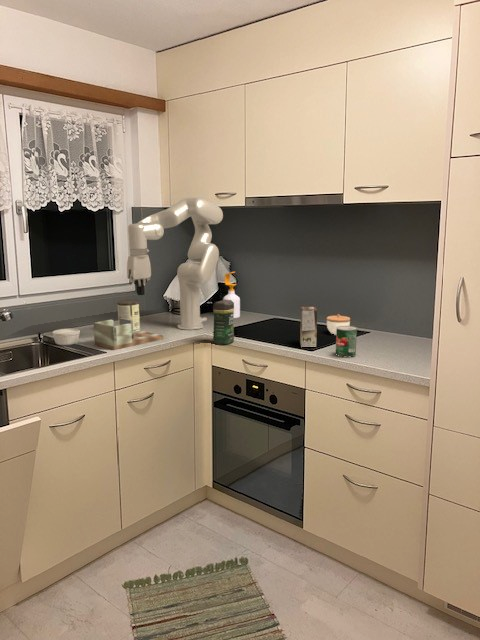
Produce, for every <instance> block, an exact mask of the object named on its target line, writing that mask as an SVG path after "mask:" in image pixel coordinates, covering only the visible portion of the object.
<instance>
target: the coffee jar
mask: <svg viewBox="0 0 480 640" xmlns="http://www.w3.org/2000/svg"><path fill="white" fill-rule="evenodd" d="M212 306H213V309H212V310H213V334H212V337H213V338H212V339H213V340H212V342H213V343H214V344H216V345H229V344H231V343H233V342H234V341H235V328H234V318H233V315H234V302H233V301H232V300H223V299H222V300H219V301H215V302H214V303H213V305H212Z"/></svg>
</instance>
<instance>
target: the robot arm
mask: <svg viewBox="0 0 480 640" xmlns="http://www.w3.org/2000/svg"><path fill="white" fill-rule="evenodd" d="M223 213H224V212H223V210H222V208H221V207H220V206H218V205H217V204H214V203H212V202H211V201H209V200H207V199H205V198H202V197H185V198H182V199H180V200H179V201H178V202H176V203H175V204H172V205H171V206H169V207H168V208H166V209H164V210H161V211H158V212H155V213H153V214H151V215H148V216H146V217H144V218H142V219H141V220H140V221H138V222H137V223H130V224H129V225H128V227H127V231H128V232H127V234H128V249H129V256H127V262H126V265H127V266H126V278H127V279H129V283H132V284H134V285H135V286H136V293H137V296H144V295H145V290H146V289H145V286H146V283H147V282H148V281H150V280H151V276H152V266H151V261H150V257H149V255H148V253H149V251H150V250H149V249H148V241H156V240H160V239H161V238H162V237H163V236H164V233H165V232H164V231H165V230H164V229H169V228H173V227H176V226H178V225H180V224H181V223H182V222H184V221H185V220H187V219H188V218H191V220H192V223H193V225H194V226H193V227H194V235H193V237H192V241H191V242H190V243H191V244H190V246H189V248H188V252H187V257H188V259H189V261H191V262H183V263H181V264H180V265H179V266H178V267H177V271H176V272H177V279H178V284H179V285H178V286H179V304H180V305H179V309H180V310H179V311H180V314H179V315H180V323H179V324H177V328H178V329H179V330H185V331H186V330H187V331H190V330H199V329H202V328H204V323H203V322H207V321H208V317H206V316H205V317H204V316H203V317H201V308H200V305H201V302H200V301H201V299H200V298H201V296H200V295H201V294H200V293H201V292H200V288H199V286H198V284H200V285H204V284H205V285H206V284H207V283H209V282H210V280H211V279H212V277H213V275H214V272H215V270H216V267H217V263H218V261H219V258H220V257H219V256H220V251H219V248H218V246H216V244H215V243H211V242H212V237H213V235H212V234H213V233H212V229H211V228H210V226H209V225H218V224H219V223H221V222H222V220H223V218H224V214H223ZM147 240H148V241H147Z"/></svg>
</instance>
